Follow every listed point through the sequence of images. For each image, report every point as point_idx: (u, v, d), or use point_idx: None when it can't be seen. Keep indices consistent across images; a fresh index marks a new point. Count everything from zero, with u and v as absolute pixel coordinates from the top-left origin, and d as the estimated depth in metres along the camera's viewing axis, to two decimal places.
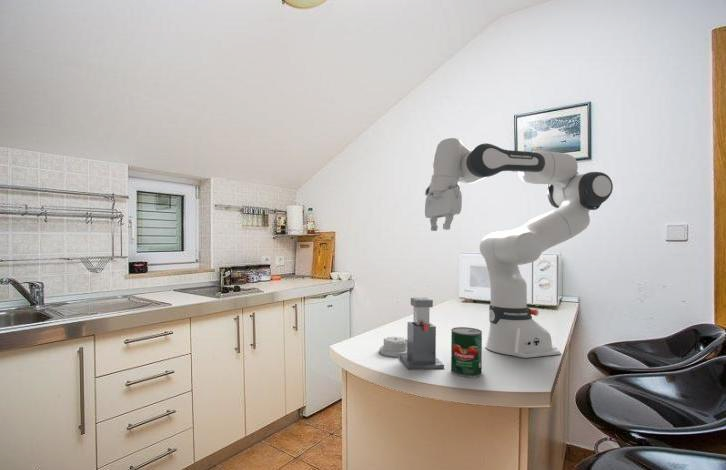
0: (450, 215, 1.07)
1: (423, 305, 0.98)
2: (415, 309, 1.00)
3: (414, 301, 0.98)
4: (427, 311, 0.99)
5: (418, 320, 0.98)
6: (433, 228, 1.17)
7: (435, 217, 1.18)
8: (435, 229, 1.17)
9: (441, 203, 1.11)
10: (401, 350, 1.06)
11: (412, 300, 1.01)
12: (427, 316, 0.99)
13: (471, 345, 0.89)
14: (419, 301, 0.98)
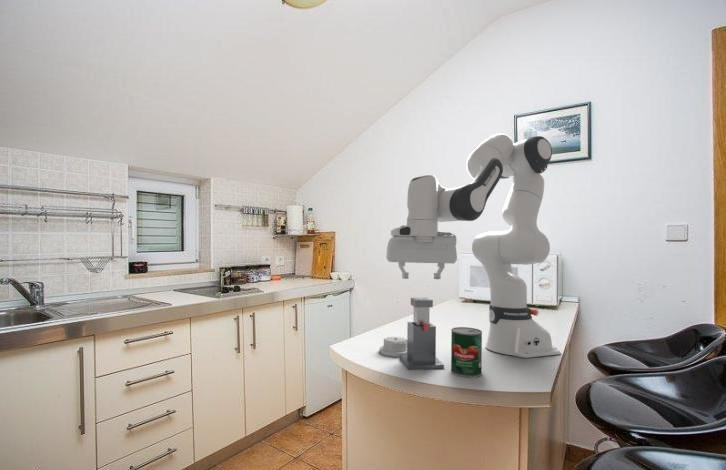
0: None
1: (423, 305, 0.98)
2: (415, 309, 1.00)
3: (414, 301, 0.98)
4: (427, 311, 0.99)
5: (418, 320, 0.98)
6: None
7: None
8: None
9: (432, 250, 0.99)
10: (401, 350, 1.06)
11: (412, 300, 1.01)
12: (427, 316, 0.99)
13: (471, 345, 0.89)
14: (419, 301, 0.98)
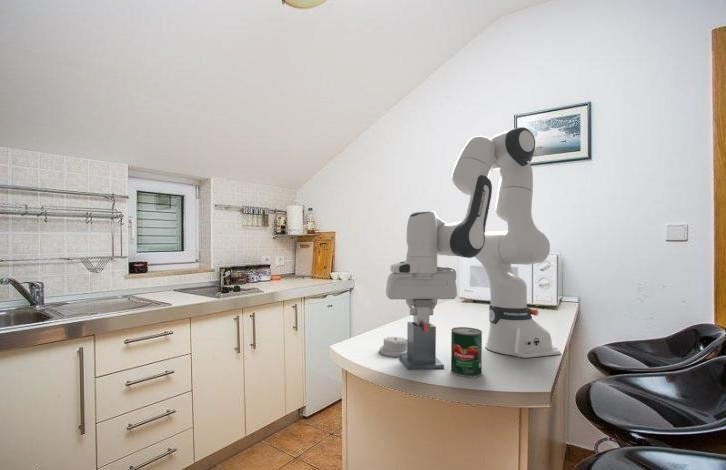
0: None
1: (423, 305, 0.98)
2: None
3: (414, 301, 0.98)
4: (427, 311, 0.99)
5: (418, 320, 0.98)
6: None
7: None
8: None
9: (432, 286, 0.99)
10: (401, 350, 1.06)
11: (412, 300, 1.01)
12: (427, 316, 0.99)
13: (471, 345, 0.89)
14: (419, 301, 0.98)
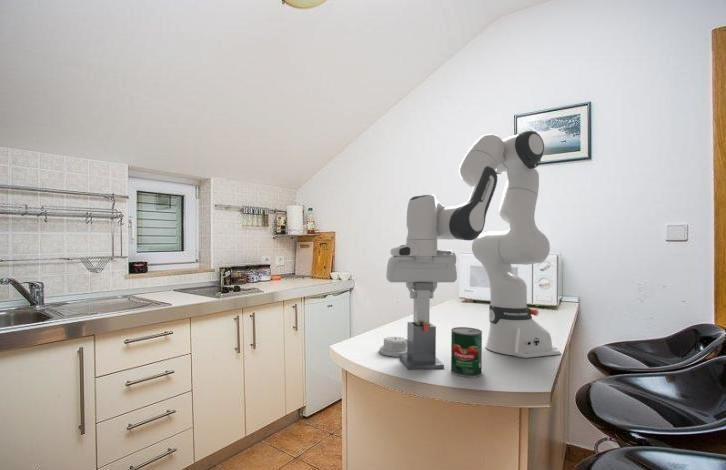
0: None
1: (423, 288, 0.98)
2: None
3: (414, 284, 0.99)
4: (427, 294, 0.99)
5: (418, 303, 0.98)
6: None
7: None
8: None
9: (432, 269, 0.99)
10: (401, 350, 1.06)
11: None
12: (427, 299, 0.99)
13: (471, 345, 0.89)
14: (419, 284, 0.98)
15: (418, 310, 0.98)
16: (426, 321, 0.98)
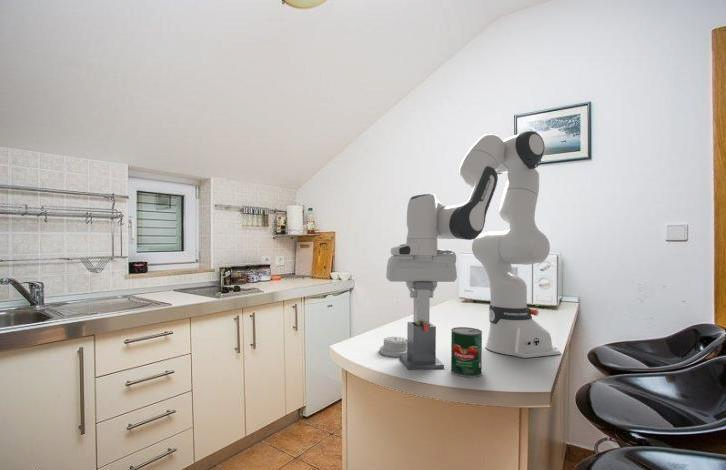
0: None
1: (423, 287, 0.98)
2: None
3: (414, 283, 0.99)
4: (427, 293, 0.99)
5: (418, 302, 0.98)
6: None
7: None
8: None
9: (432, 269, 0.99)
10: (401, 350, 1.06)
11: None
12: (427, 298, 0.99)
13: (471, 345, 0.89)
14: (419, 283, 0.98)
15: (418, 310, 0.98)
16: (426, 320, 0.98)
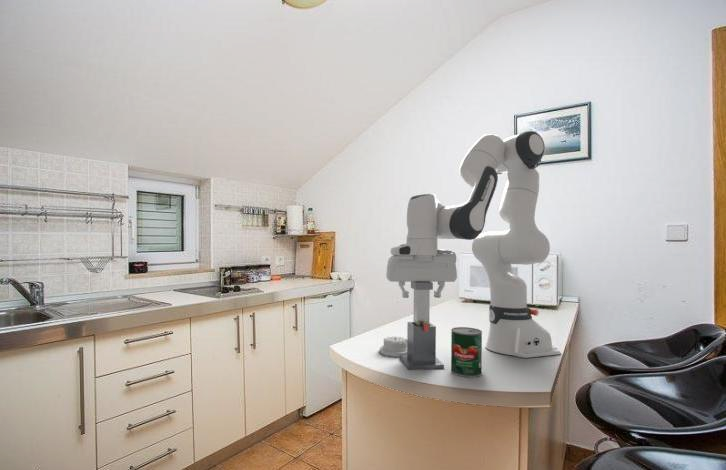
0: None
1: (423, 287, 0.98)
2: (415, 292, 1.00)
3: (414, 283, 0.99)
4: (427, 293, 0.99)
5: (418, 302, 0.98)
6: None
7: None
8: None
9: (432, 269, 0.99)
10: (401, 350, 1.06)
11: (412, 283, 1.01)
12: (427, 298, 0.99)
13: (471, 345, 0.89)
14: (419, 283, 0.98)
15: (418, 310, 0.98)
16: (426, 320, 0.98)
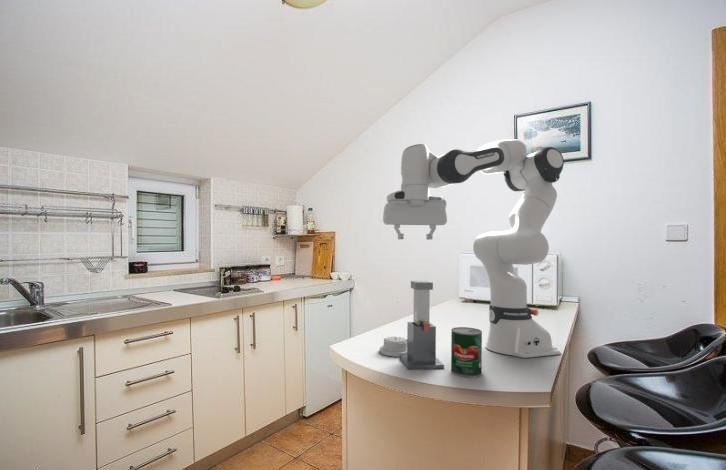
0: None
1: (423, 287, 0.98)
2: (415, 292, 1.00)
3: (414, 283, 0.99)
4: (427, 293, 0.99)
5: (418, 302, 0.98)
6: None
7: None
8: None
9: (425, 213, 1.09)
10: (401, 350, 1.06)
11: (412, 283, 1.01)
12: (427, 298, 0.99)
13: (471, 345, 0.89)
14: (419, 283, 0.98)
15: (418, 310, 0.98)
16: (426, 320, 0.98)
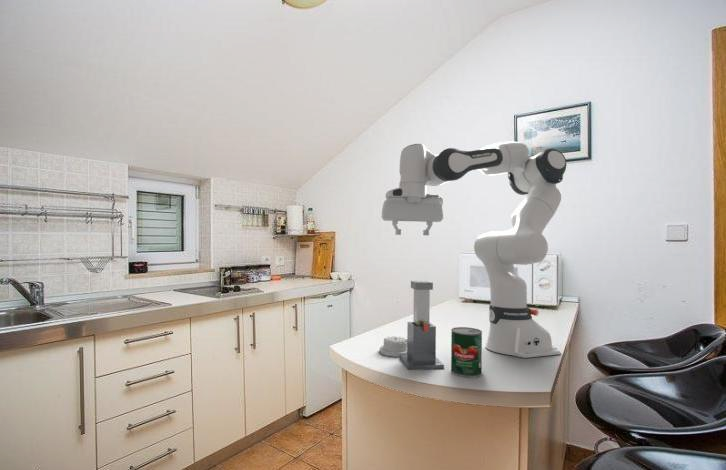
0: None
1: (423, 287, 0.98)
2: (415, 292, 1.00)
3: (414, 283, 0.99)
4: (427, 293, 0.99)
5: (418, 302, 0.98)
6: (400, 232, 1.14)
7: None
8: None
9: (421, 209, 1.14)
10: (401, 350, 1.06)
11: (412, 283, 1.01)
12: (427, 298, 0.99)
13: (471, 345, 0.89)
14: (419, 283, 0.98)
15: (418, 310, 0.98)
16: (426, 320, 0.98)
